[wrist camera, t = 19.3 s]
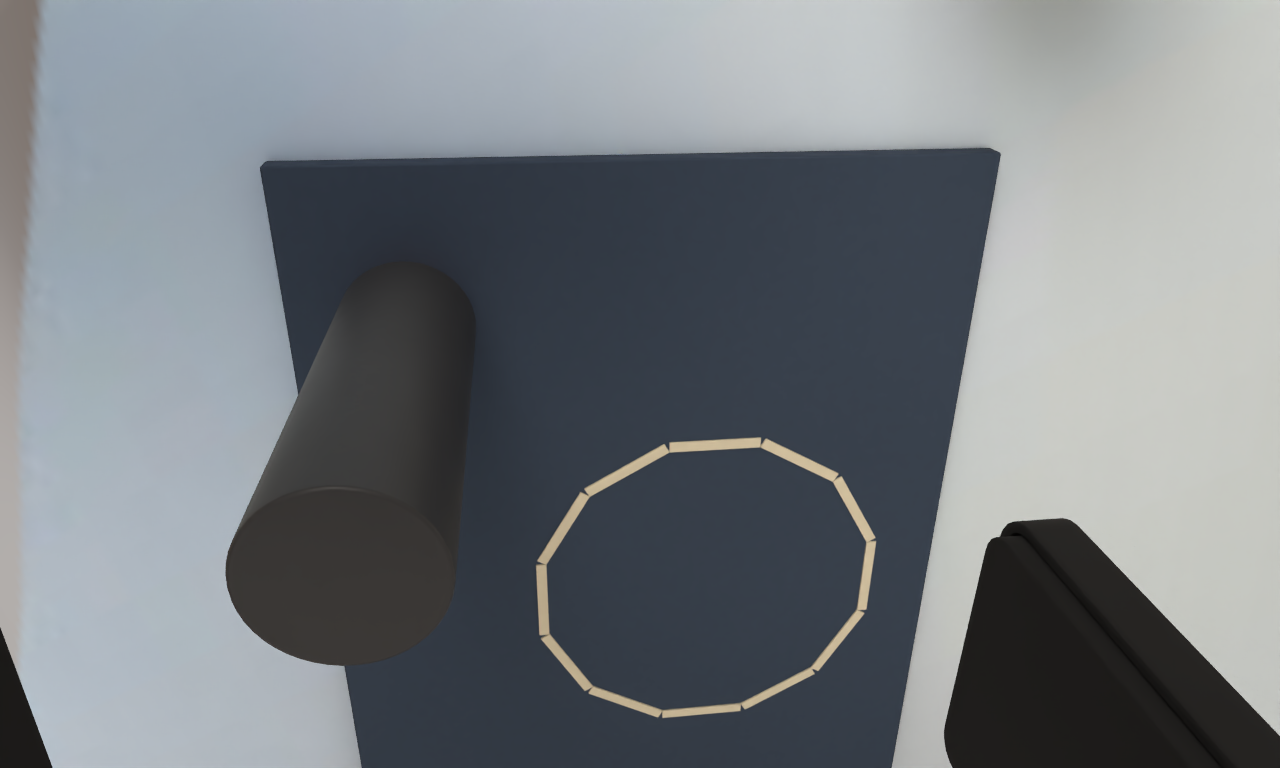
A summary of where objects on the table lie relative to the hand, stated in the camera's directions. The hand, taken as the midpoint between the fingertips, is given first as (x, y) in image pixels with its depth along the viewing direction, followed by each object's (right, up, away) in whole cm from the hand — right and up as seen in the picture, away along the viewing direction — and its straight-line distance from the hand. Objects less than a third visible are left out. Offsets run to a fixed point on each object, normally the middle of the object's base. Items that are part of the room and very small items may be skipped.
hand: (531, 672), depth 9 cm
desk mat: (+1, -1, +19) cm, 19 cm away
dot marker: (-5, +5, +14) cm, 16 cm away
